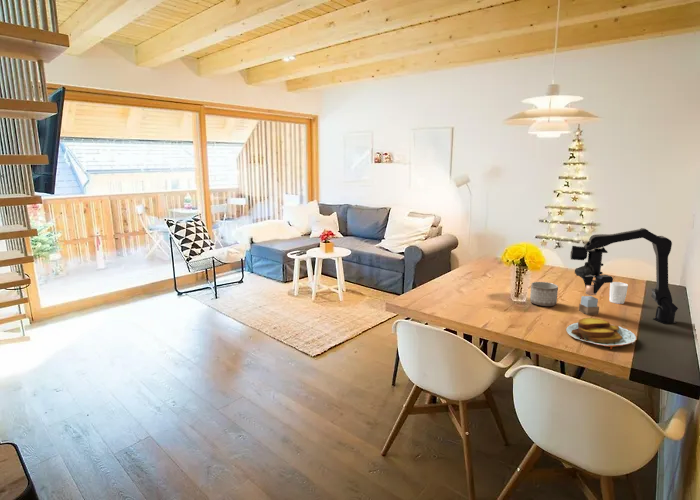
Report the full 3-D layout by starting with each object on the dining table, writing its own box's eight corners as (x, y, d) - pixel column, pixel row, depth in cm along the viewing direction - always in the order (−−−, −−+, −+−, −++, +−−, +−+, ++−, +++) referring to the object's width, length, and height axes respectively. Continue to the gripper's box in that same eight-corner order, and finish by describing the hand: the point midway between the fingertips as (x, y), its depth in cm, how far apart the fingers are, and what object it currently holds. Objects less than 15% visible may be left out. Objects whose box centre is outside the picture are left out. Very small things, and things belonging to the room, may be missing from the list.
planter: (524, 301, 212) (525, 283, 210) (542, 298, 217) (544, 280, 215) (543, 309, 201) (545, 289, 199) (561, 306, 205) (563, 286, 203)
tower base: (598, 314, 192) (599, 307, 192) (587, 315, 192) (587, 307, 191) (589, 310, 198) (590, 303, 198) (578, 311, 198) (579, 303, 197)
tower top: (597, 306, 192) (598, 299, 191) (587, 307, 192) (588, 299, 191) (590, 303, 197) (591, 295, 196) (580, 303, 196) (581, 296, 196)
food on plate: (626, 357, 149) (629, 341, 148) (557, 338, 167) (558, 324, 166) (641, 337, 167) (643, 322, 165) (576, 321, 184) (578, 308, 183)
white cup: (628, 304, 205) (630, 286, 203) (611, 303, 207) (614, 285, 205) (621, 299, 213) (623, 282, 211) (605, 299, 215) (607, 281, 213)
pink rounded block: (598, 295, 191) (599, 287, 190) (590, 295, 190) (590, 287, 190) (591, 292, 196) (592, 284, 195) (583, 292, 195) (584, 285, 194)
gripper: (566, 257, 198) (563, 287, 201) (593, 266, 180) (590, 298, 183) (586, 256, 199) (583, 286, 202) (615, 265, 181) (611, 297, 184)
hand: (591, 291), depth 193 cm, fingers closed on pink rounded block, 5 cm apart
